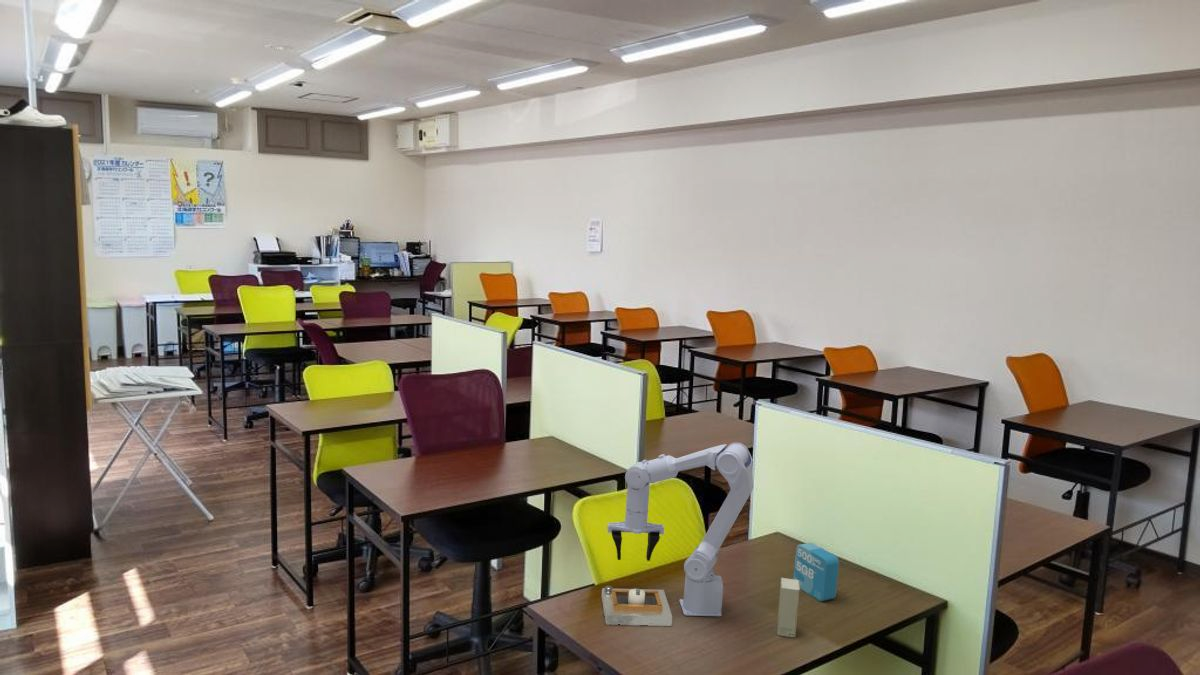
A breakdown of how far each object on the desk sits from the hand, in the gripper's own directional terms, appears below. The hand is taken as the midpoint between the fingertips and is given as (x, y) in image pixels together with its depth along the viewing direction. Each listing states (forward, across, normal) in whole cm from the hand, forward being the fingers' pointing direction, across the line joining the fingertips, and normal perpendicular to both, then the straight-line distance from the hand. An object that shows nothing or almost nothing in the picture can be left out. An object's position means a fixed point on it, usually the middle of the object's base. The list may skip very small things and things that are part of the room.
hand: (633, 558), depth 210 cm
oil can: (+9, 0, -10) cm, 14 cm away
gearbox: (+9, 0, -10) cm, 14 cm away
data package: (+10, +50, +3) cm, 51 cm away
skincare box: (+10, +36, -18) cm, 41 cm away
